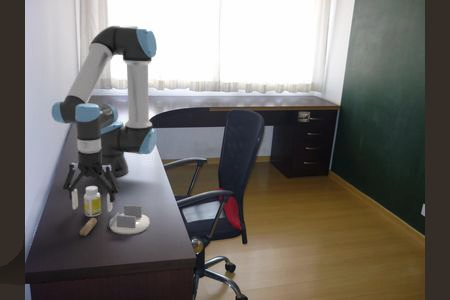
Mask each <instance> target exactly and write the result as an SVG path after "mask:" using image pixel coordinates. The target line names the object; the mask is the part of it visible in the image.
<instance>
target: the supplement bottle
mask: <svg viewBox="0 0 450 300" xmlns="http://www.w3.org/2000/svg"><path fill="white" fill-rule="evenodd" d="M83 203H84V204H83V206H84V214H85V216H86V217H90V218H94V217H98V216H99V215H101V214H102V205H101V194H100V192H99V189H98V186H96V185H90V186H86V187H85V193H84V195H83Z"/></svg>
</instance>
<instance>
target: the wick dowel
mask: <svg viewBox="0 0 450 300" xmlns="http://www.w3.org/2000/svg"><path fill="white" fill-rule="evenodd" d="M97 223H98V221H97V219H96V218H95V217H90V218H89V220H88V221H87V223H86V224H84V226H83V227H82V228H81V229H80V230H79V234H80V236H84V237H86V236H87V235H88V234H89V233H90V232H91V230H92V229H93V228H94V227H95V226H96V224H97Z"/></svg>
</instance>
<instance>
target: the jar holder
mask: <svg viewBox="0 0 450 300" xmlns="http://www.w3.org/2000/svg"><path fill="white" fill-rule="evenodd" d="M108 227H109V229H110V230H111V232H113V233H115V234H119V235H135V234H140V233H143V232H144V231H146V230H147V229H148V228H149V227H150V218H149V217H148V216H147V215H145V214H143V205H135V204H124V205H123V213H120V212H116V214H115V215H114V216H113V217H112V218H111V219H110V220H109V224H108Z"/></svg>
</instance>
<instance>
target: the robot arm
mask: <svg viewBox="0 0 450 300" xmlns="http://www.w3.org/2000/svg"><path fill="white" fill-rule="evenodd" d="M157 48H158V47H157V40H156V36H155V33H154V32H153V30H152V29H151V28H149V27H147V26H146V27H145V26H141V25H140V26H135V25H134V26H132V25H131V26H130V25H128V26H127V25H111V26H108V27H106V28H104V29H103V30H102V31H100V32H98V34H97V35H95V37H93V39H92V41H91V42H90V45H89V46H88V54H87V56H86V58H85V60H84V62H83V64H82V66H81V67H80V70H79V72H78V74H77V75H76V76H75V79H74V81H73V83H72V85H71V87H70V89H69V90H68V92H67V94H66V96H65V98H64V100H63V101H56V102H55V103H53V104H52V107H51V110H50V111H51V117H52V119H53V120H54V121H55V122H57V123H61V124H65V125H67V124H68V125H70V124H71V125H76V127H75V128H76V139H77V140H76V142H77V150H78V151H77V161H78V163H76V162H74V161H73V162H71V163H70V164H69V165H68V166H69V167H68V168H69V169H68V173H67V175H66V177H65V181H64V184H63V187H62V188H63V189H64V190H66V191H68V195H69V200H71V201H72V203H71V204H72V210H76V209H77V208H78V207H79V197H78V189H77V188H76V187H77V185H79V184H80V182H81V180H82V179H83V178H84V177H85V178H90V177H91V178H96V180H98V181H99V182H100V183H101V185H102V186H103V187H104V189H105V190H106V192H107V194H106V198H107V199H106V200H107V201H106V202H107V203H106V204H107V212H108V213H110V212H111V211H112V210H113V204H114V202H115V199H116V196H115V194H118V193H119V191H120V190H121V189H120V186H119V184H118V183H119V182H117V179H116V177H122V176H125V175H127V174H128V173H129V165H128V163H127V159H126V157H125V153H127V154H128V153H130V154H138V155H150V154H152V152H153V151H154V150H155V147H156V145H157V139H158V132H157V130H156V128H153V123H152V122H151V121H150V120H149V117H150V115H149V111H150V110H149V64H151V63H152V58H154V57H155V56H156V54H157ZM116 55H118V56H122V61H123V62H124V63H125V64H126V74H127V75H126V76H127V80H126V81H127V82H126V83H127V107H128V108H127V111H128V115H127V116H128V120H127V121H126V123H125V124H124V122H123V121H119V120H118V119H119V112H118V109H117V108H116V107H115V106H114V105H113V104H109V103H106V104H105V103H104V104H102V105H100V104H98V103H97V104H96V103H92V102H91V103H89V100H90V99H91V97H92V95H93V92H94V90H95V89H96V86H97V84H98V82H99V80H100V78H101V75H102V74H103V72H104V69H105V68H106V65H107V64H108V62H110V61H112V59H113V57H114V56H116ZM77 169H78V170H79V171H80V173H79V174H78V175H77V177H76V178H75V180H74V181H73V183H72V180H73V178H74V176H75V173H76V170H77ZM71 183H72V184H71Z"/></svg>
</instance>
